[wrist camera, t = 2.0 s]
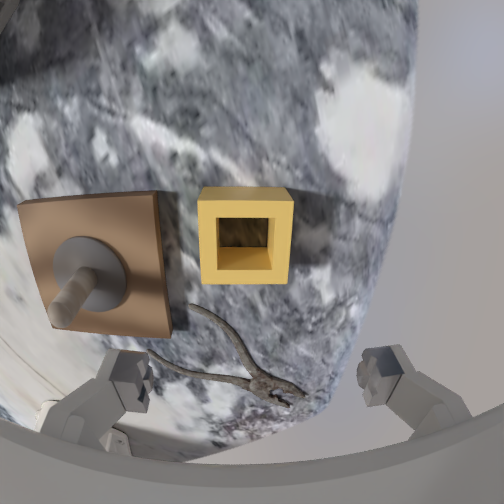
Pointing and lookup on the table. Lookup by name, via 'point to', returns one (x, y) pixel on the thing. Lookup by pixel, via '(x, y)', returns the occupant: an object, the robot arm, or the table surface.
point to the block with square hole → (245, 258)
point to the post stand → (99, 262)
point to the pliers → (260, 379)
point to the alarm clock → (7, 11)
